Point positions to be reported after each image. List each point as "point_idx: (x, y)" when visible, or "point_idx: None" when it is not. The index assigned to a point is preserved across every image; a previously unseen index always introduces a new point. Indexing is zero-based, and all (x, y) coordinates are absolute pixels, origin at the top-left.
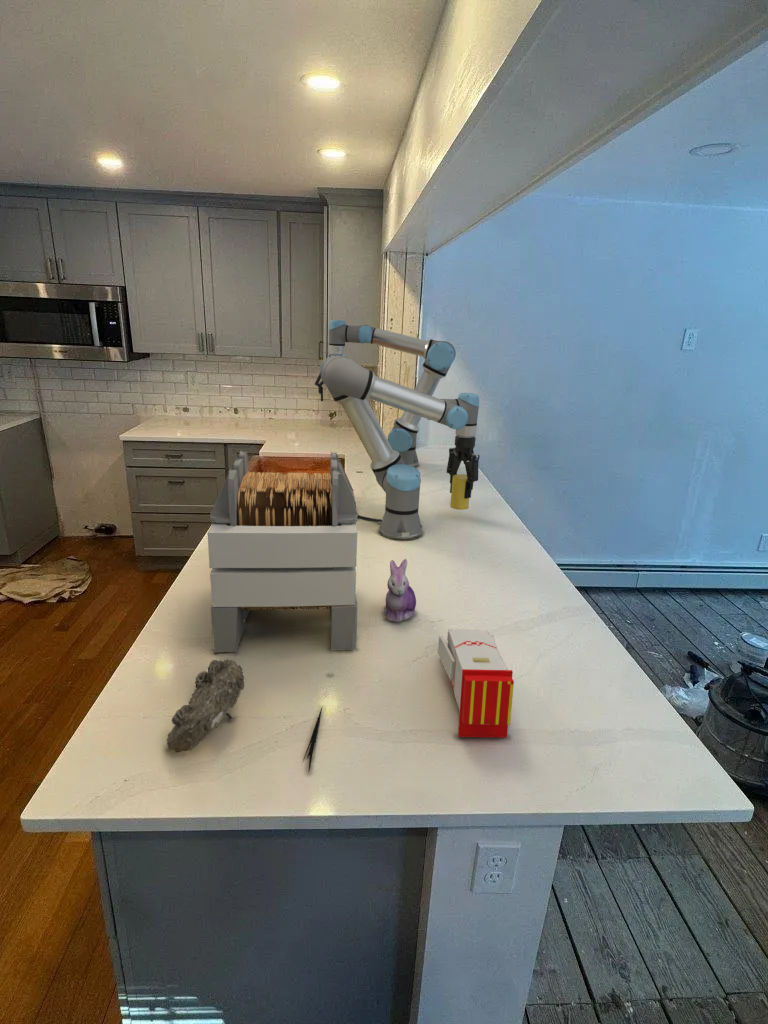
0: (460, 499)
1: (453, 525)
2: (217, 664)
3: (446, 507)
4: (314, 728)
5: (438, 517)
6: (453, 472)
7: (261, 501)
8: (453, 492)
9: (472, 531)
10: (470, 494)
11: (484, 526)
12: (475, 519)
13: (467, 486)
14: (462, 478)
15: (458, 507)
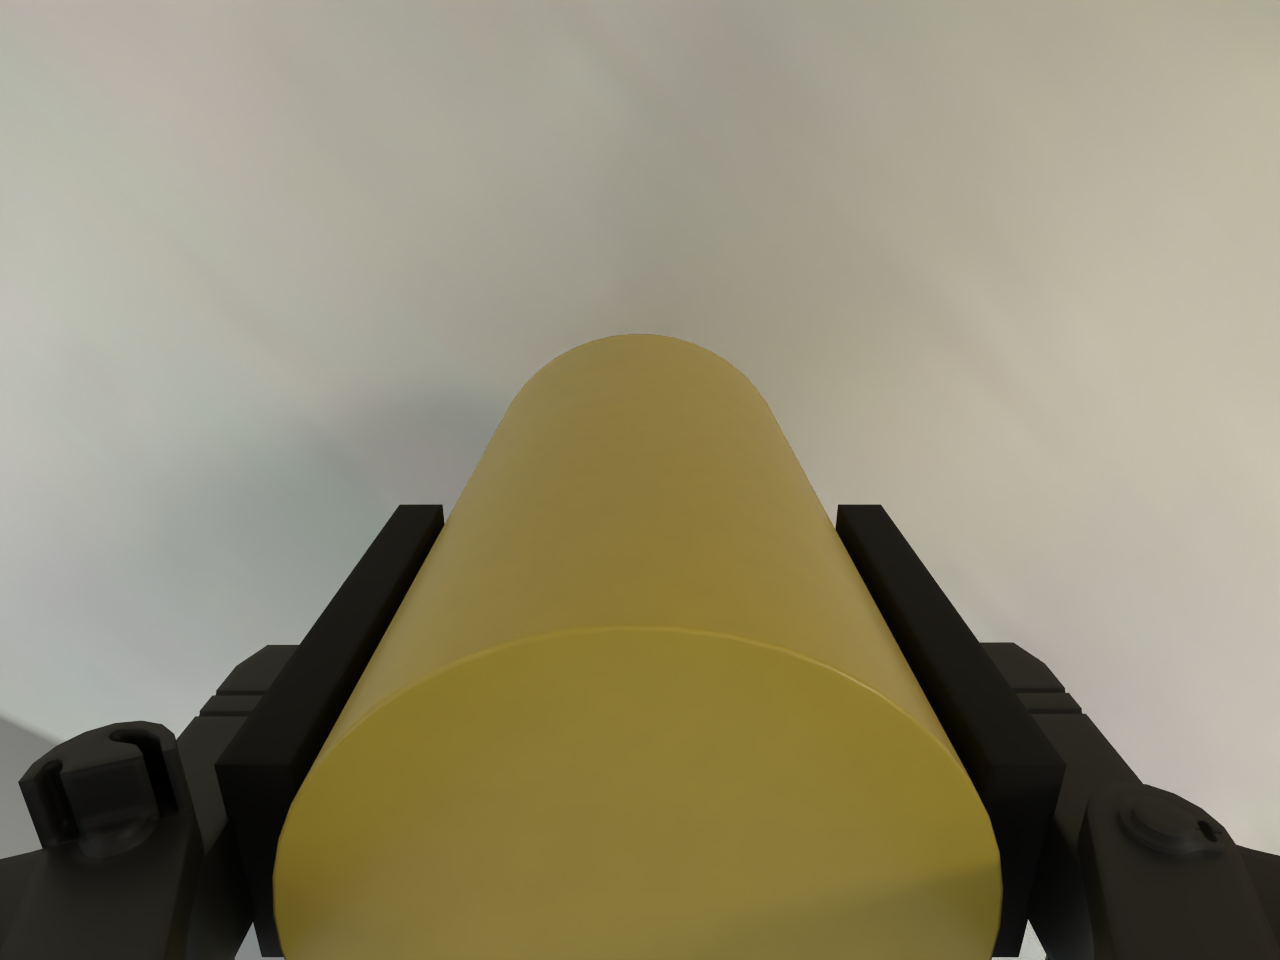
0: (499, 440)
1: (406, 103)
2: None
3: (979, 540)
4: None
5: (777, 151)
6: (1097, 957)
7: None
8: (663, 415)
9: (97, 175)
10: None
11: (202, 455)
12: None
13: (292, 684)
14: (436, 813)
15: (537, 375)
